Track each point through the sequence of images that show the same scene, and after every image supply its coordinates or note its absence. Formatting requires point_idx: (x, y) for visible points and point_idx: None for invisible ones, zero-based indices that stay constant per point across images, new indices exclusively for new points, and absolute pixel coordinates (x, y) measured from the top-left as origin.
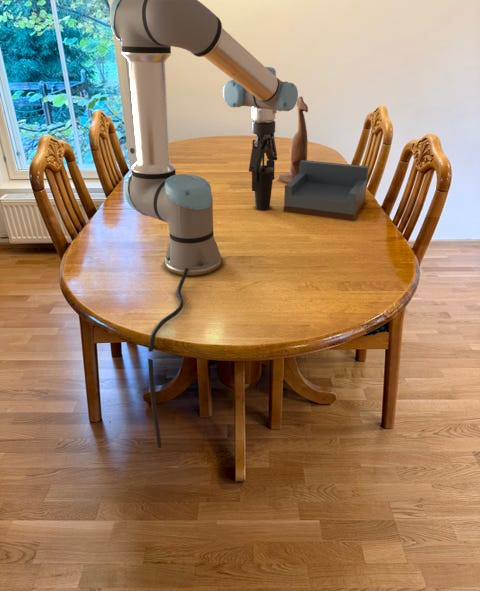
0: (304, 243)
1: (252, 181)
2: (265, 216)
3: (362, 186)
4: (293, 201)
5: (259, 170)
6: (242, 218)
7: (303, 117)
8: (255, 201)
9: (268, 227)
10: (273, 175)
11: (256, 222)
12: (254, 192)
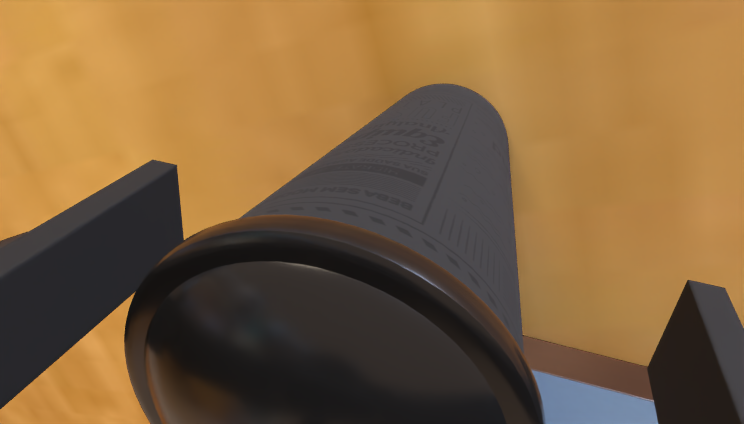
0: (46, 387)
1: (64, 220)
2: (270, 193)
3: None
4: None
5: (151, 382)
6: (167, 29)
7: None
8: (393, 105)
9: None
10: (658, 415)
11: (148, 150)
12: (380, 121)
